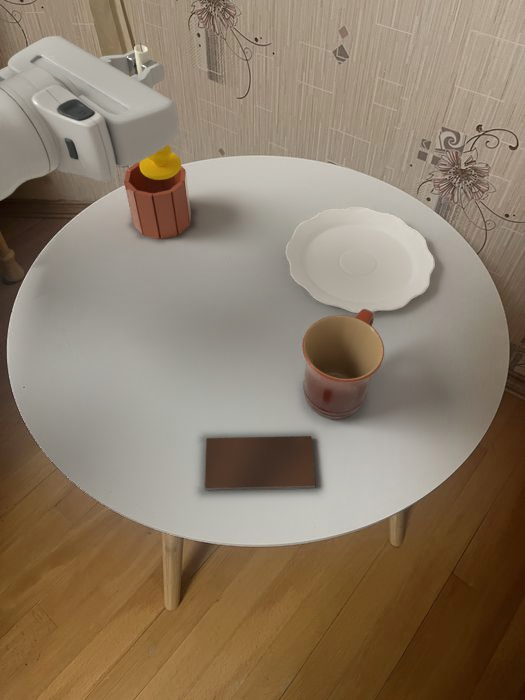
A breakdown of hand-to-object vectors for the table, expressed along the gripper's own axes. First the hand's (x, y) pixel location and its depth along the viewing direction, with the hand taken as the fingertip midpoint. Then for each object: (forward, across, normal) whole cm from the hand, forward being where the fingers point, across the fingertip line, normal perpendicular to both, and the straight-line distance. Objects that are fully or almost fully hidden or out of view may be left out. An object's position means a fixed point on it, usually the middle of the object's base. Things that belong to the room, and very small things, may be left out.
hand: (150, 63), depth 62 cm
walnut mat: (-18, +33, -26) cm, 46 cm away
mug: (-4, +33, -27) cm, 43 cm away
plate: (+15, +22, -27) cm, 38 cm away
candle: (-1, 0, -13) cm, 13 cm away
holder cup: (+2, -6, -27) cm, 28 cm away
